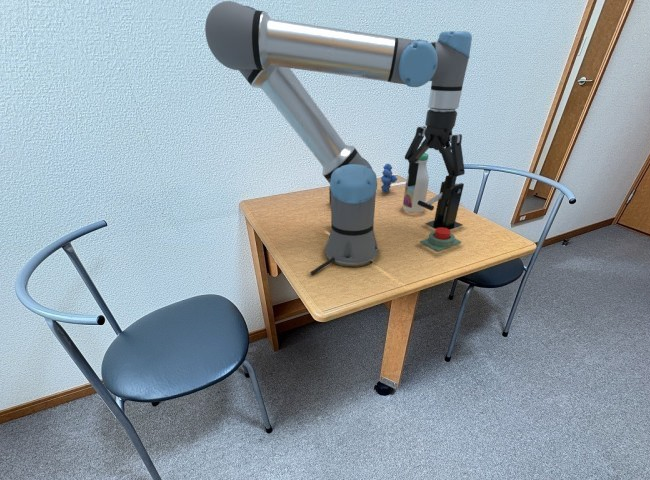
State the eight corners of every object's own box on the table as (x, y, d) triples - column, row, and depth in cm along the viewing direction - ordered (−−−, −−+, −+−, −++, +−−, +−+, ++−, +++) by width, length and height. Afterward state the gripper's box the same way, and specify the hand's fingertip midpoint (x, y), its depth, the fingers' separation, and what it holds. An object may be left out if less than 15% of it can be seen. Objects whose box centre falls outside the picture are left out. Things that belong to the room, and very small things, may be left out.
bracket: (442, 235, 104) (451, 189, 95) (423, 226, 109) (431, 182, 100) (462, 228, 108) (474, 183, 99) (444, 220, 114) (453, 176, 105)
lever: (430, 213, 97) (430, 206, 95) (417, 207, 101) (417, 200, 99) (461, 192, 100) (462, 185, 99) (447, 187, 104) (447, 180, 102)
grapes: (394, 198, 130) (397, 167, 123) (377, 197, 131) (379, 166, 124) (397, 189, 139) (400, 159, 131) (381, 188, 140) (384, 158, 133)
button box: (437, 255, 94) (439, 245, 92) (419, 245, 99) (420, 235, 97) (460, 246, 98) (463, 236, 96) (441, 237, 103) (444, 227, 101)
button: (442, 241, 94) (443, 235, 93) (430, 236, 97) (432, 229, 96) (452, 237, 96) (454, 231, 95) (441, 232, 99) (442, 226, 98)
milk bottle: (422, 208, 122) (431, 151, 110) (424, 216, 116) (435, 157, 104) (401, 207, 123) (408, 150, 111) (402, 215, 117) (410, 156, 105)
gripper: (494, 115, 76) (470, 203, 89) (418, 103, 93) (407, 178, 106) (473, 117, 73) (452, 208, 86) (398, 104, 90) (390, 182, 102)
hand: (427, 192), depth 96 cm, fingers open, 13 cm apart
